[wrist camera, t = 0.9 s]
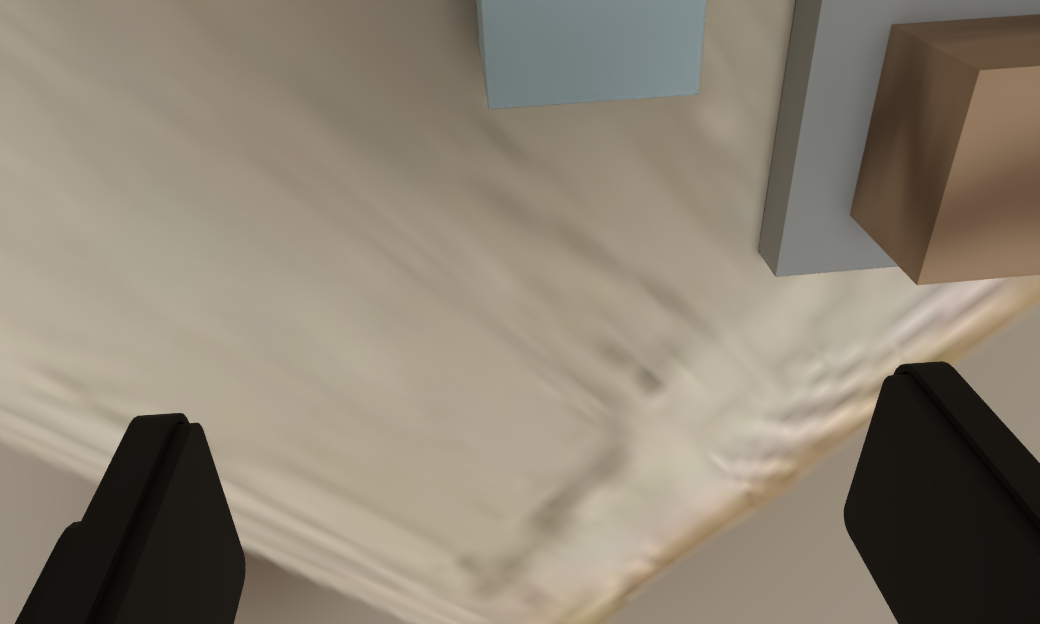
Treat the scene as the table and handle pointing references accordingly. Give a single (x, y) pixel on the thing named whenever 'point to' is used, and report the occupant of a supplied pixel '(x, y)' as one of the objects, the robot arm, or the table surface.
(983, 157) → the walnut block
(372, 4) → the table surface
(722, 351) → the table surface
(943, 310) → the table surface
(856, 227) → the slate base
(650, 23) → the cube
